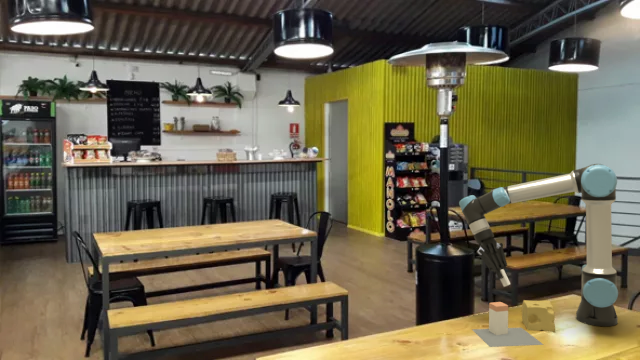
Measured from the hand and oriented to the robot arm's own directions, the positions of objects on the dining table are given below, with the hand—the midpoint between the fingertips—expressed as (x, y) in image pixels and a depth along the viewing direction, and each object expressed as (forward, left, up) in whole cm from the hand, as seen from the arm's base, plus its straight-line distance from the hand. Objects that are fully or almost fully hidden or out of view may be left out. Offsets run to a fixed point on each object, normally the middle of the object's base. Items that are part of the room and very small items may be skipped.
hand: (507, 285), depth 213 cm
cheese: (-11, +4, -17) cm, 20 cm away
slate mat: (+6, +13, -16) cm, 22 cm away
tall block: (+7, +8, -16) cm, 19 cm away
